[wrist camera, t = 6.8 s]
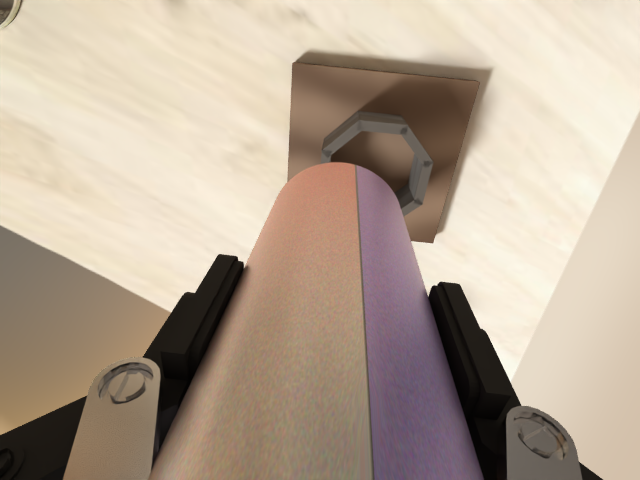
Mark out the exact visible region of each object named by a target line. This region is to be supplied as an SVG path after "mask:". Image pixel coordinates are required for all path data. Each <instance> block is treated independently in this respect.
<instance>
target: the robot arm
mask: <svg viewBox="0 0 640 480" xmlns="http://www.w3.org/2000/svg"><path fill="white" fill-rule="evenodd" d="M243 270H244V263H243V262H241V261H238V257H237V256H230V255H222V254H219V255H218V256H217V258H216V259H215V261H214V263H213V264H212V266H211V268H210V269H209V271H208V272H207V274H206V276H205V277H204V279H203V281H202V282H201V284H200V286H199V287H198V289H197V291H196V292H195V293H191V292H186V293H184V295H183V296H182V297H181V299H180V300H179V302H178V303H177V305H176V306H175V308H174V309H173V311H172V313H171V314H170V316H169V317H168V319H167V321H166V322H165V323H164V325H163V326H162V328H161V329H160V331H159V333H158V334H157V336H156V337H155V339H154V341H153V342H152V343H151V345H150V347H149V348H148V350H147V351H146V353H145V354H144V356H143V357H134V358H133V357H131V358H127V359H123V360H120V361H117V362H115V363H113V364H111V365H109V366H108V367H106V368H105V369H103V370H102V371H101V372H100V373H99V374H98V375H97V376H96V377H95V379H94V380H93V382H92V384H91V386H90V388H89V392H88V395H87V396H85V397H83V398H81V399H79V400H76V401H74V402H72V403H70V404H68V405H65V406H63V407H61V408H59V409H57V410H55V411H52V412H50V413H48V414H46V415H44V416H41V417H39V418H37V419H35V420H33V421H31V422H28V423H26V424H24V425H22V426H20V427H17V428H15V429H13V430H11V431H9V432H7V433H5V434H2V435H0V480H147V479H148V477H149V475H150V473H151V470H152V467H153V464H154V461H155V459H156V457H157V454H158V452H159V450H160V448H161V446H162V444H163V442H164V439H165V437H166V435H167V433H168V431H169V429H170V427H171V424H172V422H173V420H174V418H175V416H176V414H177V411H178V409H179V407H180V405H181V403H182V401H183V399H184V396H185V394H186V392H187V390H188V388H189V386H190V384H191V381H192V379H193V377H194V375H195V373H196V371H197V369H198V366H199V364H200V362H201V360H202V358H203V356H204V354H205V351H206V349H207V347H208V345H209V343H210V341H211V338H212V336H213V334H214V332H215V330H216V328H217V326H218V323H219V321H220V319H221V317H222V315H223V313H224V311H225V308H226V306H227V304H228V302H229V300H230V298H231V295H232V293H233V291H234V289H235V287H236V285H237V283H238V280H239V278H240V276H241V274H242V272H243ZM428 299H429V302H430V305H431V308H432V312H433V315H434V318H435V321H436V325H437V328H438V331H439V334H440V338H441V341H442V344H443V348H444V351H445V354H446V357H447V361H448V364H449V367H450V370H451V374H452V377H453V380H454V383H455V387H456V390H457V393H458V396H459V400H460V403H461V406H462V409H463V413H464V416H465V419H466V422H467V426H468V429H469V432H470V435H471V439H472V442H473V445H474V448H475V452H476V455H477V458H478V462H479V465H480V468H481V471H482V475H483V478H484V480H603V479H601V478H600V477H599V476H597V475H596V474H595V473H593V472H592V471H591V470H589V469H588V468H587V467H585V466H584V465H582V464H581V463H580V462H579V461H578V455H577V450H576V447H575V445H574V442H573V440H572V438H571V436H570V435H569V434H568V433H567V431H566V430H565V428H563V426H562V425H560V423H559V422H558V421H556V420H555V419H554V418H552V417H551V416H549V415H548V414H546V413H544V412H542V411H540V410H538V409H535V408H532V407H529V406H521V404H520V402H519V400H518V397H517V396H516V393H515V391H514V389H513V388H512V385H511V383H510V381H509V379H508V376H507V374H506V372H505V370H504V368H503V366H502V364H501V362H500V360H499V358H498V356H497V353H496V351H495V349H494V347H493V345H492V343H491V341H490V339H489V337H488V335H487V333H486V332H485V331H484V330H483V329H480V327H479V325H478V323H477V320H476V318H475V316H474V314H473V312H472V310H471V307H470V305H469V303H468V301H467V299H466V297H465V294H464V292H463V290H462V288H461V286H460V285H459V284H455V283H447V282H439V284H438V285H437V286H432V288H431V291H430V294H429V297H428Z"/></svg>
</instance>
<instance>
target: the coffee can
mask: <svg viewBox="0 0 640 480" xmlns="http://www.w3.org/2000/svg"><path fill="white" fill-rule="evenodd" d="M20 2H21V0H0V29H2V28H4V27H6V26H7V25H8V24H10V23H11V21H12V20H13V19H14V18H15V16H16V14H17V12H18V9H19V6H20Z"/></svg>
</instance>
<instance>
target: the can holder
mask: <svg viewBox="0 0 640 480" xmlns="http://www.w3.org/2000/svg"><path fill="white" fill-rule="evenodd" d="M479 84H480V82H478V81H473V80H463V79H454V78H444V77H434V76H424V75H414V74H405V73H395V72H385V71H375V70H365V69H356V68H346V67H336V66H326V65H316V64H306V63H297V62H294V63H293V64H292V87H291V111H290V134H289V158H288V181H289V180H290V179H292V178H293V177H294V176H295V175H297V174H298V173H300V172H301V171H303V170H305V169H307V168H310V167H312V166H315V165H319V164H323V163H332V162H341V163H349V164H354V165H357V166H360V167H363V168H365V169H368V170H370V171H372V172H373V173H375V174H376V175H378V176H379V177H380V178H382V179H383V180H384V181H385V182H386V183H387V184H388V185H389V187H390V188H391V189H392V191H393V192H394V194H395V195H396V197H397V199H398V202H399V205H400V208H401V211H402V214H403V217H404V221H405V224H406V227H407V230H408V234H409V237H410V240H411V241H416V242H426V243H433V242H434V238H435V235H436V231H437V228H438V224H439V221H440V218H441V214H442V211H443V207H444V204H445V200H446V197H447V193H448V190H449V187H450V183H451V180H452V176H453V173H454V169H455V166H456V163H457V159H458V156H459V152H460V149H461V145H462V142H463V139H464V135H465V132H466V128H467V125H468V121H469V118H470V114H471V111H472V108H473V104H474V101H475V97H476V94H477V90H478V87H479ZM288 181H287V182H288Z"/></svg>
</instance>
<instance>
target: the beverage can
mask: <svg viewBox="0 0 640 480" xmlns="http://www.w3.org/2000/svg"><path fill="white" fill-rule="evenodd" d="M147 480H484V478H483V475H482V471H481V468H480V465H479V462H478V458H477V455H476V452H475V448H474V445H473V442H472V439H471V435H470V432H469V429H468V426H467V422H466V419H465V416H464V413H463V409H462V406H461V403H460V400H459V396H458V393H457V390H456V387H455V383H454V380H453V377H452V374H451V370H450V367H449V364H448V361H447V357H446V354H445V351H444V348H443V344H442V341H441V338H440V334H439V331H438V328H437V325H436V321H435V318H434V315H433V312H432V308H431V305H430V302H429V299H428V295H427V292H426V289H425V286H424V282H423V279H422V276H421V273H420V269H419V266H418V263H417V260H416V256H415V253H414V250H413V247H412V243H411V240H410V237H409V234H408V230H407V227H406V224H405V221H404V217H403V214H402V211H401V208H400V205H399V202H398V199H397V197H396V195H395V194H394V192H393V191H392V189H391V188H390V187H389V185H388V184H387V183H386V182H385V181H384V180H383V179H382V178H380V177H379V176H378V175H376V174H375V173H373V172H372V171H370V170H368V169H365V168H363V167H360V166H357V165H354V164H349V163H341V162H332V163H323V164H319V165H315V166H312V167H310V168H307V169H305V170H303V171H301V172H300V173H298V174H297V175H295V176H294V177H293V178H292V179H290V180H289V181H288V182H287V183H286V185H285V186H284V187H283V188H282V190H281V191H280V193H279V195H278V197H277V199H276V201H275V203H274V205H273V207H272V209H271V211H270V214H269V216H268V218H267V220H266V222H265V224H264V227H263V229H262V231H261V233H260V235H259V237H258V239H257V242H256V244H255V246H254V248H253V250H252V252H251V254H250V257H249V259H248V261H247V263H246V265H245V267H244V270H243V272H242V274H241V276H240V278H239V280H238V283H237V285H236V287H235V289H234V291H233V293H232V295H231V298H230V300H229V302H228V304H227V306H226V308H225V311H224V313H223V315H222V317H221V319H220V321H219V323H218V326H217V328H216V330H215V332H214V334H213V336H212V338H211V341H210V343H209V345H208V347H207V349H206V351H205V354H204V356H203V358H202V360H201V362H200V364H199V366H198V369H197V371H196V373H195V375H194V377H193V379H192V381H191V384H190V386H189V388H188V390H187V392H186V394H185V396H184V399H183V401H182V403H181V405H180V407H179V409H178V411H177V414H176V416H175V418H174V420H173V422H172V424H171V427H170V429H169V431H168V433H167V435H166V437H165V439H164V442H163V444H162V446H161V448H160V450H159V452H158V454H157V457H156V459H155V461H154V464H153V467H152V470H151V473H150V475H149V477H148V479H147Z"/></svg>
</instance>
